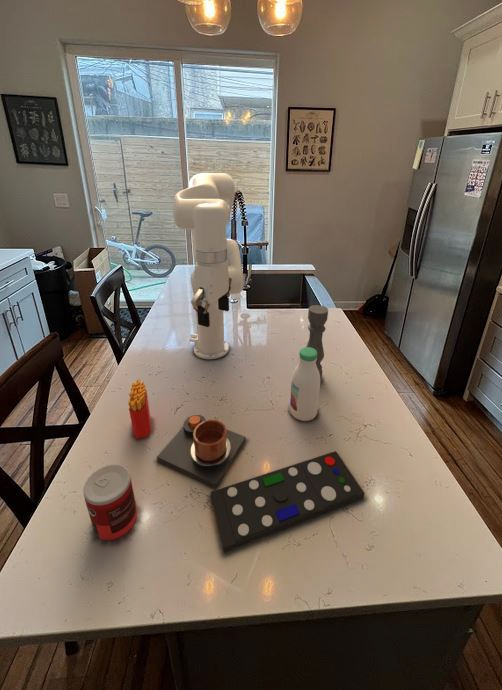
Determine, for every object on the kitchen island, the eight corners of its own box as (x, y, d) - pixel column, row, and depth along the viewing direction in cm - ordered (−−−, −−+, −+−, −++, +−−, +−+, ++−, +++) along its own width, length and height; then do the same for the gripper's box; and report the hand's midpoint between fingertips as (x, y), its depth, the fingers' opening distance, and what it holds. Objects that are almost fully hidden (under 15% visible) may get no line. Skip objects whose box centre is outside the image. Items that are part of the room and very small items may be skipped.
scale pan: (182, 457, 74) (182, 455, 74) (205, 428, 82) (205, 427, 82) (217, 472, 71) (217, 471, 71) (237, 441, 79) (237, 440, 79)
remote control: (363, 497, 70) (364, 491, 69) (224, 552, 60) (223, 545, 59) (335, 455, 79) (336, 449, 78) (211, 496, 69) (210, 490, 68)
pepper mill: (321, 386, 102) (328, 315, 93) (301, 383, 104) (306, 312, 94) (321, 374, 108) (329, 305, 98) (303, 371, 109) (308, 303, 99)
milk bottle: (319, 405, 95) (325, 346, 87) (314, 425, 88) (320, 362, 80) (293, 399, 97) (297, 341, 89) (286, 417, 90) (290, 356, 82)
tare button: (187, 426, 83) (186, 421, 83) (193, 418, 86) (193, 414, 85) (196, 429, 82) (196, 425, 82) (202, 422, 85) (202, 417, 84)
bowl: (188, 454, 75) (186, 438, 73) (206, 431, 81) (205, 415, 79) (215, 466, 72) (215, 450, 70) (232, 441, 78) (232, 425, 76)
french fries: (134, 417, 89) (127, 378, 84) (151, 414, 90) (145, 375, 85) (133, 444, 81) (125, 403, 76) (151, 440, 82) (145, 399, 77)
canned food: (102, 503, 67) (92, 465, 63) (142, 500, 68) (135, 462, 64) (87, 544, 60) (74, 504, 56) (131, 541, 61) (123, 501, 57)
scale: (157, 461, 77) (156, 451, 76) (192, 420, 89) (192, 411, 87) (215, 488, 71) (215, 479, 70) (245, 440, 83) (245, 431, 81)
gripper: (217, 245, 89) (219, 302, 96) (176, 263, 75) (182, 329, 81) (241, 249, 87) (242, 307, 93) (204, 268, 72) (208, 335, 79)
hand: (214, 317), depth 87 cm, fingers open, 9 cm apart
